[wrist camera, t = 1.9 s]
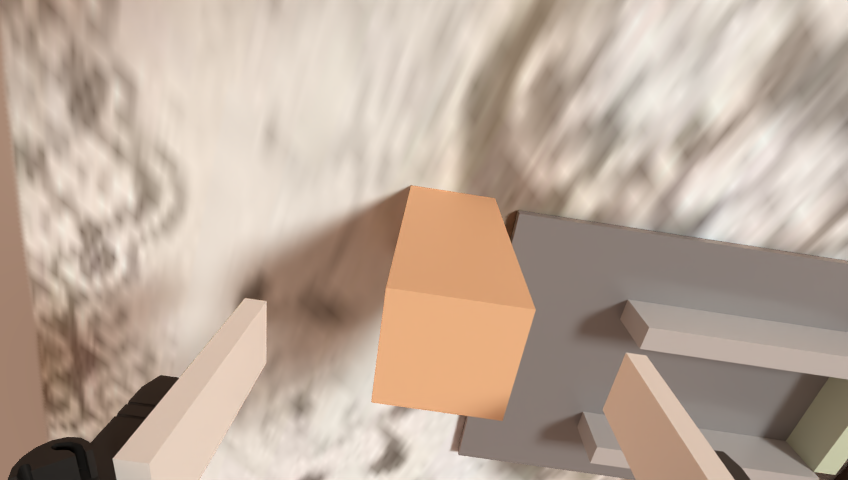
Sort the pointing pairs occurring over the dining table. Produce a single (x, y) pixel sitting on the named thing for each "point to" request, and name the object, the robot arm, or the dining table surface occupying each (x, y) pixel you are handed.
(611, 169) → the dining table surface
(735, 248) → the end holder
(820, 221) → the dining table surface
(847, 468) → the wooden barrel
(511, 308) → the block
